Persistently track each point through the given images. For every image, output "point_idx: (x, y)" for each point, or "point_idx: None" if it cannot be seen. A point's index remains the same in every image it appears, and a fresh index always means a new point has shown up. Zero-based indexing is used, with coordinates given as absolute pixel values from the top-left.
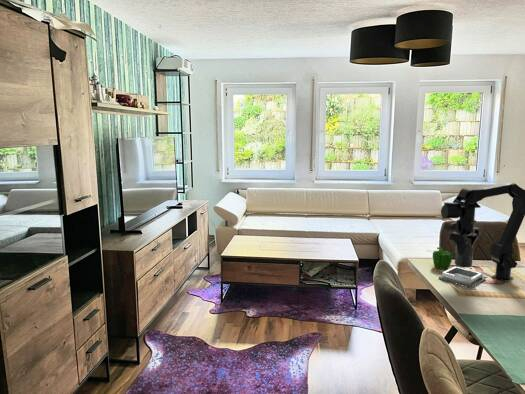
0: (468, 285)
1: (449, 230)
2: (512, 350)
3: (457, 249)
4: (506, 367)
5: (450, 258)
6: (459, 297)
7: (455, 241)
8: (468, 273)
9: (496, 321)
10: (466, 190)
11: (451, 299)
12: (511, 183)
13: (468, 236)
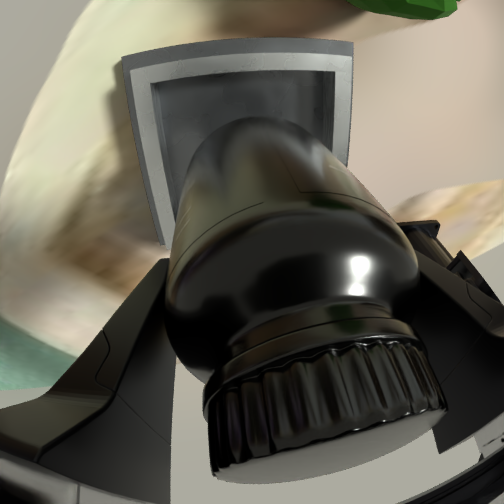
0: (156, 229)
1: None
2: (15, 383)
3: (172, 261)
4: None
5: (397, 13)
6: (39, 261)
7: (31, 417)
8: None
9: (45, 359)
10: None
11: (6, 255)
12: None
13: (492, 402)
